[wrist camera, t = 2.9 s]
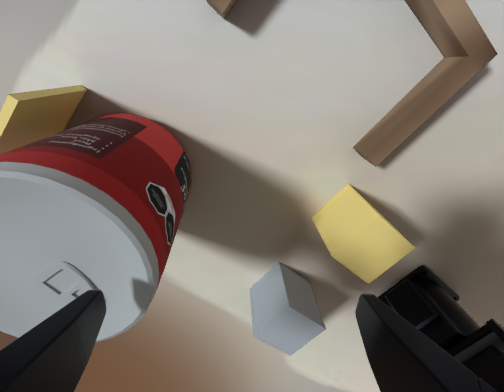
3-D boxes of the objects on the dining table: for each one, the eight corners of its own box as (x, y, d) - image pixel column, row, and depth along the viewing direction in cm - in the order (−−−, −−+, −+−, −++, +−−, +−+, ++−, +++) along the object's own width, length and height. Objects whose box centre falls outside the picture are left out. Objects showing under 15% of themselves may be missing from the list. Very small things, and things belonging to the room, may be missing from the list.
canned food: (159, 231, 22) (97, 369, 12) (60, 174, 19) (-124, 290, 9) (215, 160, 19) (198, 259, 10) (112, 84, 17) (-59, 112, 7)
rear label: (87, 89, 17) (18, 101, 11) (52, 149, 18) (-23, 184, 13) (80, 85, 17) (8, 94, 11) (46, 145, 18) (-33, 179, 13)
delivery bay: (472, 52, 17) (500, 51, 16) (362, 157, 20) (375, 166, 18) (325, -176, 13) (341, -217, 11) (207, 2, 15) (203, -7, 13)
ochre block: (378, 211, 22) (415, 248, 18) (342, 242, 23) (368, 284, 19) (348, 183, 21) (379, 215, 16) (311, 217, 22) (331, 256, 18)
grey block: (309, 282, 25) (326, 328, 21) (280, 306, 26) (290, 355, 22) (278, 261, 24) (289, 306, 19) (249, 288, 25) (253, 336, 21)
